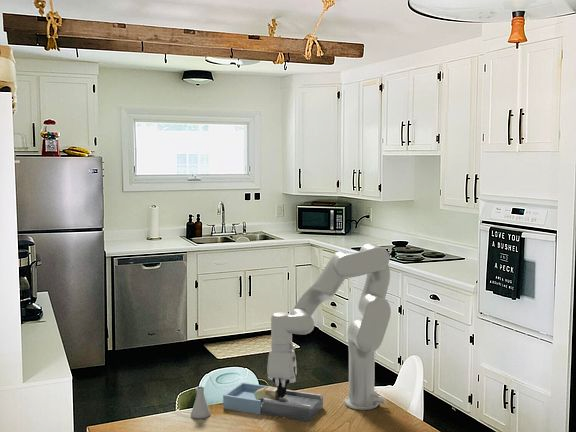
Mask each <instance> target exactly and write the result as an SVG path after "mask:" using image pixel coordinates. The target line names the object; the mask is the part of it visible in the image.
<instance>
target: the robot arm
mask: <svg viewBox="0 0 576 432" xmlns="http://www.w3.org/2000/svg"><path fill="white" fill-rule="evenodd" d="M390 260H391V259H390V253H389V251H388V250H387V249H385V248H384V247H382V246H380V245H378V244H375V243H371V242H370V243H369V242H368V243H365V244H363V245H362V246H361V247H360V250H359V251H357V252H353V253H348V252H346V251H341V250H340V251H337V252H335V253H334V254H333V255H332V256H331V258H330V259H329V261H328V262H327V263H326V265H325V266H324V268H323V269H322V271H321V273H320V274H319V276H318V277H317V278H316V280H315V281H314V283H313V284H311V285H310V286H309V288H308V289H307V290H306V291H305V292H304V293H303V294H302V295H301V297H300V298H299V299H298V300H297V302H296V304H295V305H294V307H293V308H292V309H291V312H290V313H289V312H286V311H285V312H284V311H278V312H274V313H272V314H271V317H270V330H271V331H270V332H271V333H270V335H271V336H270V338H271V339H270V340H271V341H270V346H271V347H270V350H269V353H268V358H267V379H268V380H270V381H273V382H274V384H275V387H277V394H278V397H279V398H280V397H281V398H283V397H284V396H285V395H286V390H287V385H288V384H292V383H293V384H294V383H296V381H297V379H296V376H297V373H298V369H297V359H296V357H297V356H296V353H295V350H296V345H295V344H293V334H295V335H307V334H310V333H311V332H312V331H314V328H315V320H314V318H313V317H312V315H314V312H315V311H316V310H317V309H318V307H319V306H320V305H322V303H324V302H325V301H328V300H330V299H332V298H333V297H334V296H335V295H336V293H337V291H339V289H340V287H341V286H342V285H343V283H344V281H345V280H346V279H351V278H356V277H360V276H365V275H366V278H365V282H364V285H363V289H362V292H361V295H360V298H359V300H358V310H359V312H360V314H361V315H362V318H358V319H355V320H353V321H352V322H351V323H350V324H349V326H348V328H347V335H346V336H347V345H348V347H347V348H348V396H347V397H346V398H344V405H345V406H346V407H348V408H349V409H352V410H353V409H354V410H359V411H366V410H368V411H369V410H373V409H375V408H377V407H378V406H379V404H383V405H384V404H386V401H387V399H386V398H385V396H384V395H379V394H377V391H376V390H375V379H376V378H375V364H376V363H375V361H376V359H375V352H377V350H378V349H379V348H380V347H381V345H382V343H383V340H384V337H385V335H386V331H387V328H388V325H389V323H390V319H391V313H392V310H391V306H390V303H389V301H388V300H387V299H386V296H387V292H388V289H389V285H390V281H391V280H390V279H391V270H390V265H389V262H390Z"/></svg>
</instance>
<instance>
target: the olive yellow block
mask: <svg viewBox="0 0 576 432" xmlns="http://www.w3.org/2000/svg"><path fill="white" fill-rule="evenodd" d="M267 388H268V387H264V388H261V389H258V390H257V391H255V392H254V396H255V398H256V400H260V399H263V398H265V390H266V389H267Z"/></svg>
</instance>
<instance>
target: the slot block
mask: <svg viewBox="0 0 576 432" xmlns="http://www.w3.org/2000/svg"><path fill="white" fill-rule="evenodd" d="M323 408H324V397H323V394H319V393H312V392H304V391H298V390H291V389H286V395H285V396H284V397H283V398H281V397H280V398H279V397H278V398H276V399H269V398H268V399H267V398H264V399H263V403H262V415H263V414H265V416H269V415H271V416H270V417H275V416H278V417H277V418H281V417H285V418H284V419H287V418H289V420H293V419H294V421H299V422H307V423H309V422H311V421H312V419H314V417H316V416H317V415H318V413H319V412H320V411H321V410H323Z"/></svg>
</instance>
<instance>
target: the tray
mask: <svg viewBox="0 0 576 432" xmlns="http://www.w3.org/2000/svg"><path fill="white" fill-rule="evenodd" d="M264 387H271V386H269V385H262V384H256V383H249V382H248V383H247V382H240V383H239V384H238V385H236V386H234V387H233V388H232V389H230V390H229V391H227V392H226V393H225V394H223V396H222V398H223V399H222V401H223V405H222V406H223V409H224V410H230V411H237V412H242V413H248V412H250V414H254V413H255V415H261V413H262V403H263V399H264V398H263V399H260V400H256V398H255V396H254V392H255V391H257V390H258V389H261V388H264ZM267 399H268V398H267Z"/></svg>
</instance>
